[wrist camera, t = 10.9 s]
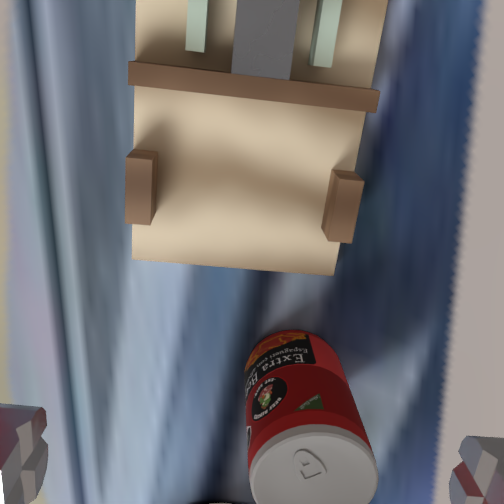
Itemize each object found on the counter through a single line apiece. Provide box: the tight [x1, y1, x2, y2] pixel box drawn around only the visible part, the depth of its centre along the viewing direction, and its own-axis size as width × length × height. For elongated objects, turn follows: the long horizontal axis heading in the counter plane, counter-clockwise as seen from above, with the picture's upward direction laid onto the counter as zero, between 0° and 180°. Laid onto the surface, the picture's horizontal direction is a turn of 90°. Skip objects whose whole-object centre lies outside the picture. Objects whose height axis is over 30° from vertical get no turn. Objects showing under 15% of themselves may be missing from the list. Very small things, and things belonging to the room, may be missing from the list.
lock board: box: [125, 0, 388, 276], centre depth 28 cm, size 24×14×4 cm, turn 173°
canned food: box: [244, 330, 378, 504], centre depth 33 cm, size 8×8×11 cm
